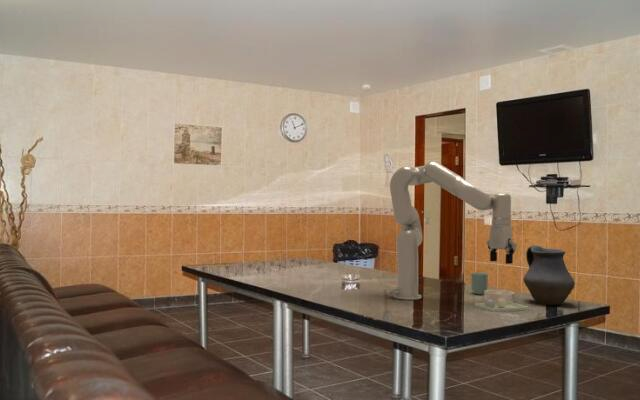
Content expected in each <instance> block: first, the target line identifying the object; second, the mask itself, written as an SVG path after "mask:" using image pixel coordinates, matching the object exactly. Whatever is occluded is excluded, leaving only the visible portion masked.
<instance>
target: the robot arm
mask: <svg viewBox="0 0 640 400" xmlns="http://www.w3.org/2000/svg"><path fill="white" fill-rule="evenodd" d="M429 183H434V184H435V185H437V186H439V187H441V188H442V189H443V190H445V191H447V192H449V194H451V195H453V196H455V197H457V198H458V199H460V200H461V201H463V202H465V203H466V204H468V205H469V206H471V207H473V208H474V209H476V210H478V211H489V210H492V219H491V220H492V221H491V222H492V223H491V225H490V229H489V237H488V239H489V240H487V241H486V245H487V249H488V252H489V253H490V254H489V261H490V262H497V260H498V252H497V250H504V251H505V252H506V253H505V264H508V265H509V264H510V265H511V264H513V261H514V259H513V258H514V257H513V255H514V254H515V252H516V249H517V246H518V244H517V243H516V242H515V241H513V239H514V238H513V237H514V236H513V228H512V225H511V224H512V223H511V222H512V197H511V194H509V193H487V192H486V193H485V192H484V191H482V190H480V189H479V188H477V187H475V186H474V185H472V184H471V183H469V182H467V181H466V180H465V178H463V177H462V176H461V175H459V174H457V173H456V172H454V171H452V170H450V169H449V168H448V167H445V166H444V165H443V164H441V163H440V162H437V161H432V160H431V161H428V163H426V164H425V165H420V166H414V167H413V166H409V165H408V166H407V165H406V166H401V167H399V168H398V169H397V170H395V172H394V173H393V174H392V176H391V178H390V182H389V190H390V191H389V193H390V197H391V204H392V210H393V216H394V221H395V222H396V223H397V224H398V225H399V226H400V231H399V232H398V234H397V236H396V253H397V255H396V257H397V258H396V259H397V264H396V265H397V268H396V269H397V271H396V274H397V275H396V277H397V278H396V279H397V281H396V286H395V287H394V288H393V289H387V291H386V293H387V294H388V295H393V298H394V299H397V300H398V299H399V300H406V301H407V300H408V301H415V300H420V299H421V300H422V297H423V296H422V295H421V294H419V246H420V245H421V244H422V242H423V231H422V225H421V224H422V223H421V220H420V219H421V218H420V214H419V212H418V210H417V208H415V206H412V205H413V204H412V200H411V194H410V191H409V186H410V187H411V186H419V185H424V184H429Z"/></svg>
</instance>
